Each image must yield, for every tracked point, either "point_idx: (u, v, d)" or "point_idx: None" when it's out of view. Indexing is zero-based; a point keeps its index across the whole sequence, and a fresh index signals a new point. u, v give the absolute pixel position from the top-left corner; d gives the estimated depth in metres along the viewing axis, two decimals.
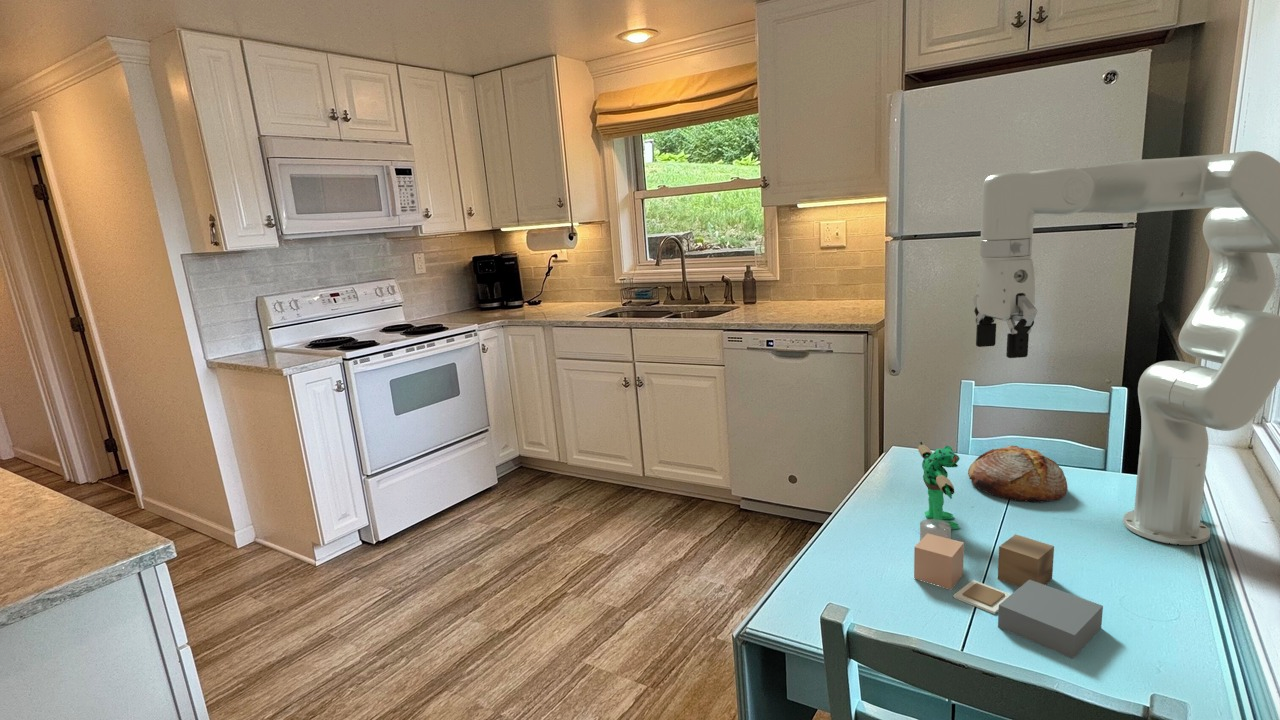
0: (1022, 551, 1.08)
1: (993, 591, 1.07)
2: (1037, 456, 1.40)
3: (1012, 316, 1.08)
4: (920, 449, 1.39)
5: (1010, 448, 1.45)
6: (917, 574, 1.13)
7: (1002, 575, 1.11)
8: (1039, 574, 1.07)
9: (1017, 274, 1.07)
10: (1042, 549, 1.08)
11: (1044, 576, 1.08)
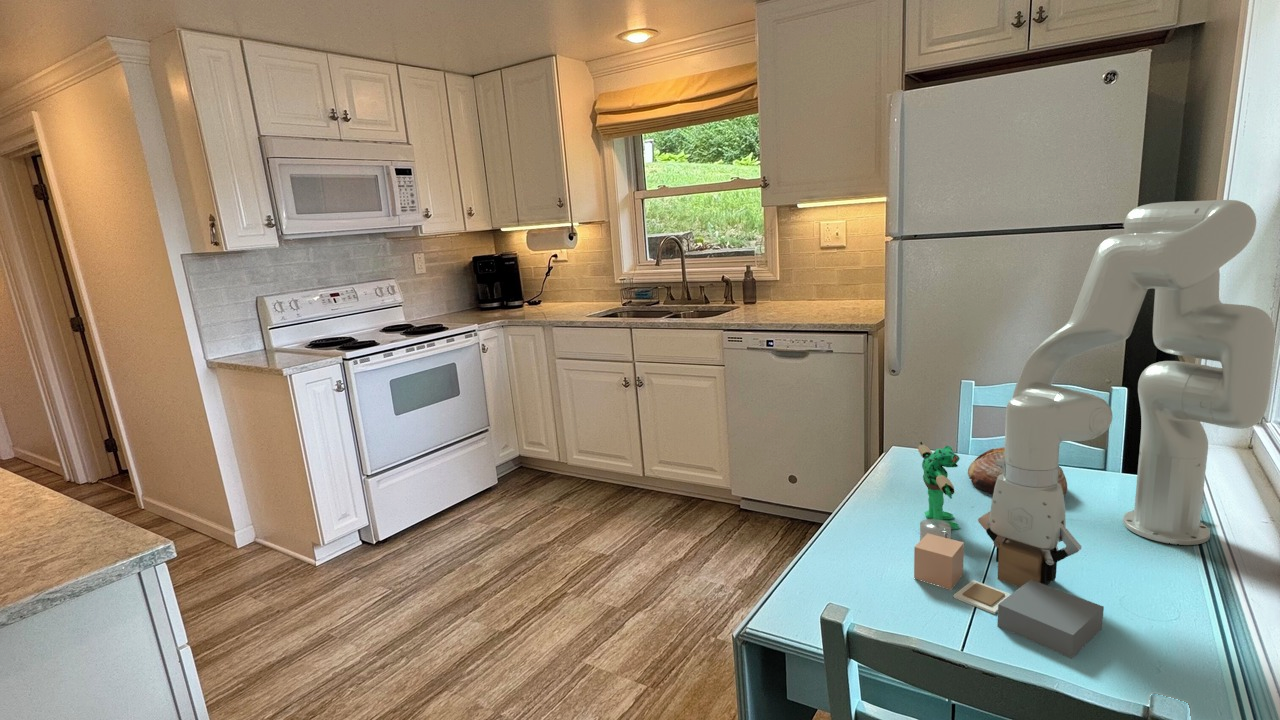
0: (1022, 551, 1.08)
1: (993, 591, 1.07)
2: None
3: None
4: (920, 449, 1.39)
5: None
6: (917, 574, 1.13)
7: (1002, 575, 1.11)
8: (1039, 573, 1.07)
9: None
10: None
11: None
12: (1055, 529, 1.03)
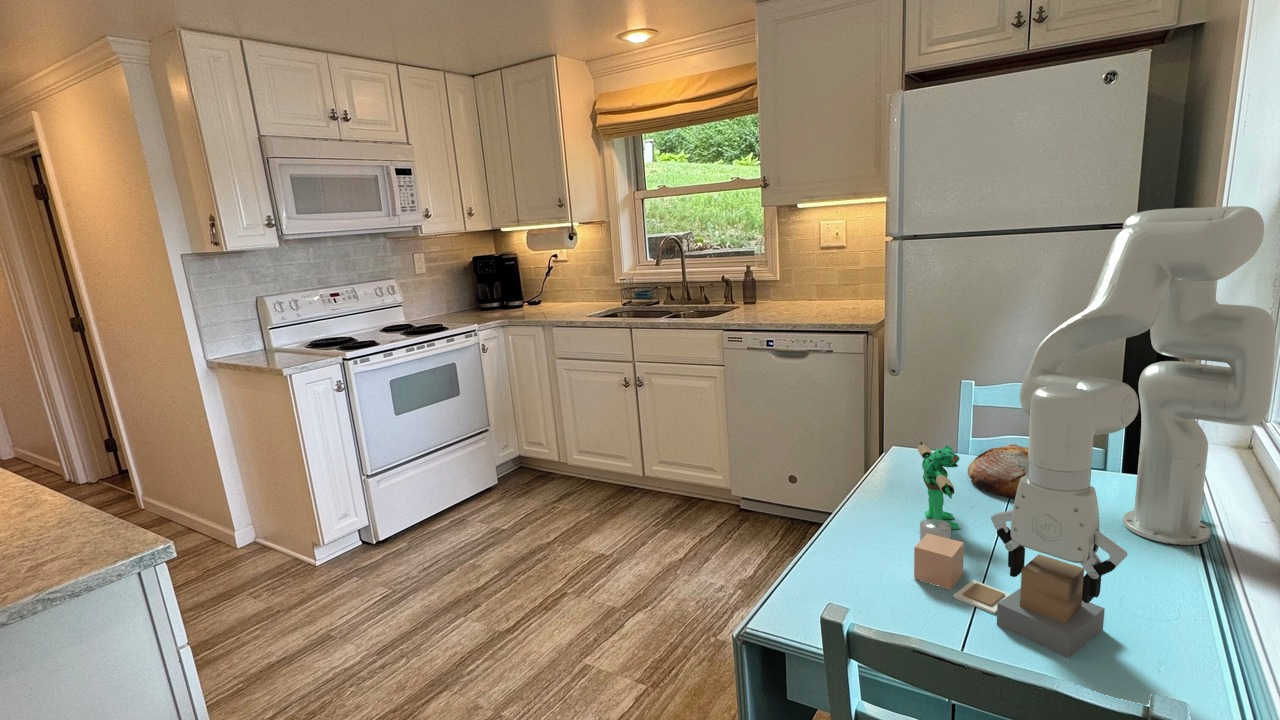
0: (1049, 575, 0.94)
1: (993, 591, 1.07)
2: None
3: None
4: (920, 449, 1.39)
5: (1009, 447, 1.46)
6: (917, 574, 1.13)
7: (1025, 602, 0.97)
8: (1069, 601, 0.93)
9: None
10: (1071, 572, 0.95)
11: (1073, 603, 0.94)
12: (1088, 539, 0.90)
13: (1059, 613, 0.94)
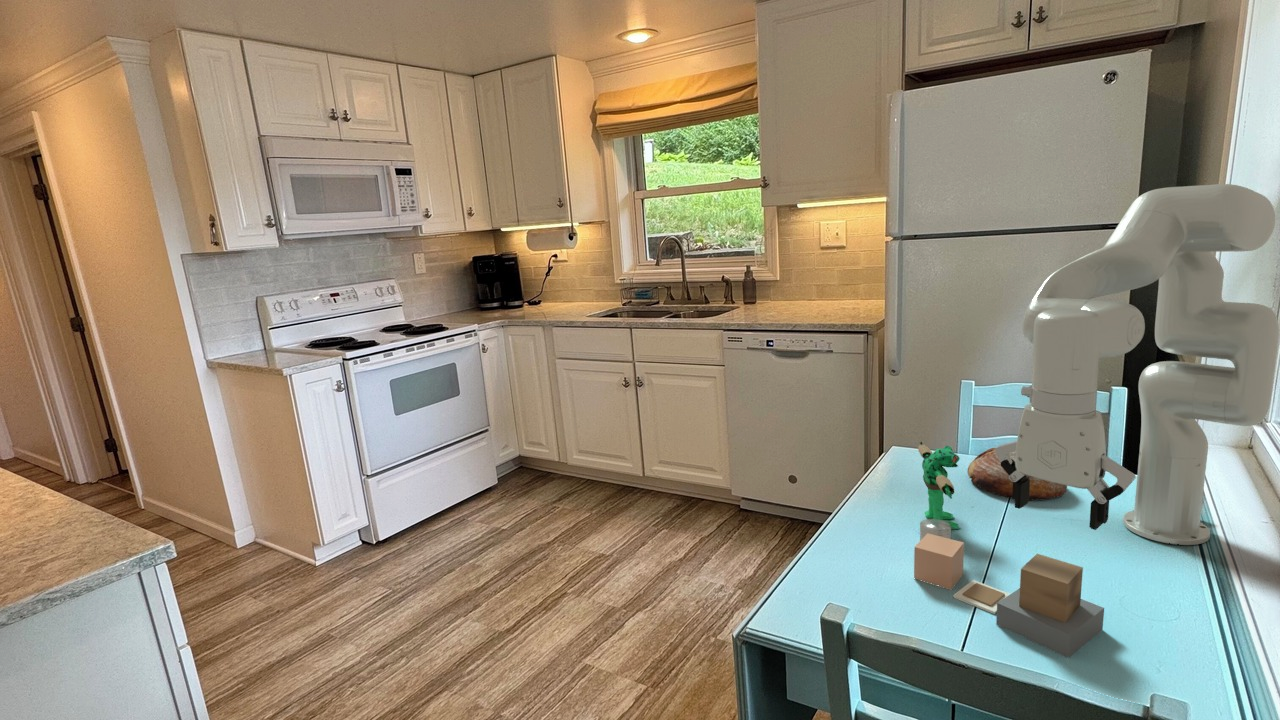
0: (1048, 574, 0.95)
1: (993, 591, 1.07)
2: None
3: None
4: (920, 449, 1.39)
5: None
6: (917, 574, 1.13)
7: (1024, 601, 0.97)
8: (1068, 600, 0.93)
9: None
10: (1070, 572, 0.95)
11: (1073, 602, 0.95)
12: (1095, 463, 0.87)
13: (1059, 612, 0.94)
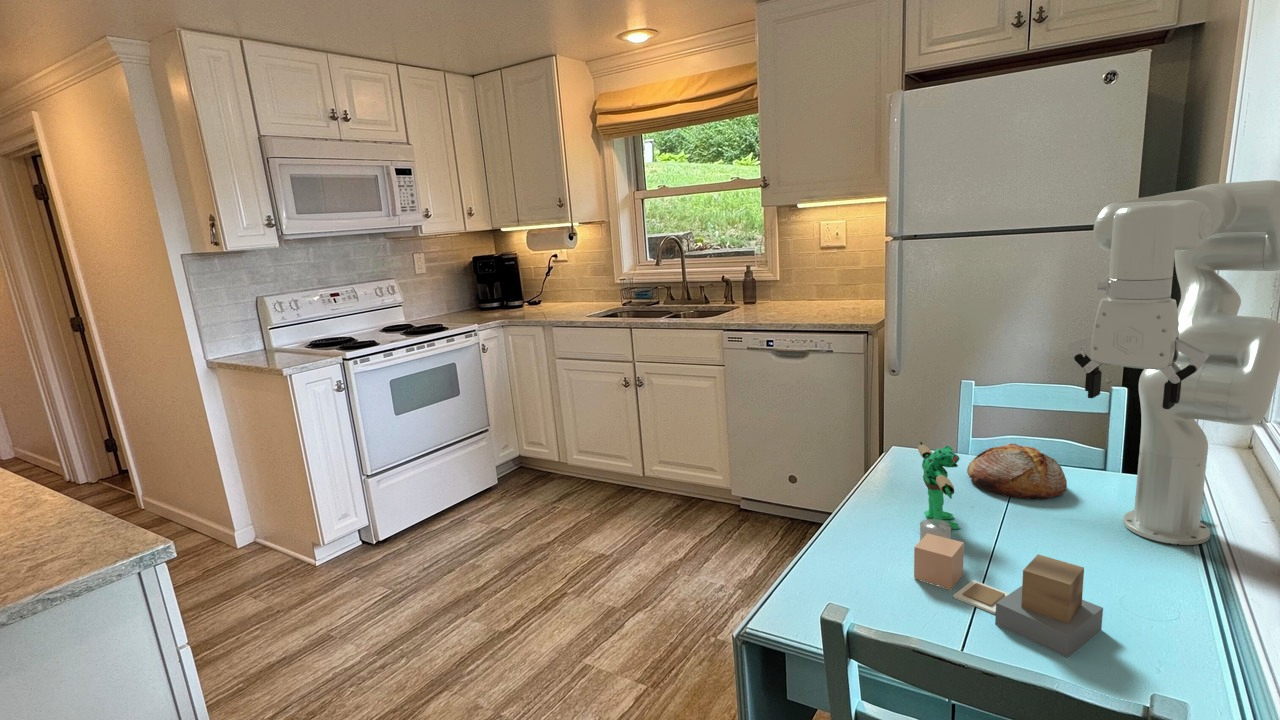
0: (1051, 575, 0.94)
1: (993, 591, 1.07)
2: (1036, 454, 1.41)
3: None
4: (920, 449, 1.39)
5: (1009, 446, 1.46)
6: (917, 574, 1.13)
7: (1027, 603, 0.97)
8: (1071, 601, 0.93)
9: None
10: (1072, 572, 0.95)
11: (1075, 603, 0.94)
12: (1170, 344, 0.95)
13: (1061, 613, 0.93)
